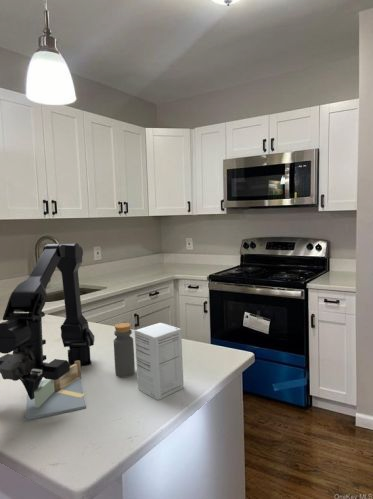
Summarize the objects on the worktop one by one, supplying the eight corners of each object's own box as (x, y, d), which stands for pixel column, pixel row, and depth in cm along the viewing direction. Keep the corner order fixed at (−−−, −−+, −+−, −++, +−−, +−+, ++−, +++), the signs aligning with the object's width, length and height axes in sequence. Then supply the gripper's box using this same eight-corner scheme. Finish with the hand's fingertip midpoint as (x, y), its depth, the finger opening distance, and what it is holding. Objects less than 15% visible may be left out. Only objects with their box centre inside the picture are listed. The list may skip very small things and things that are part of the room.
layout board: (80, 375, 109) (80, 373, 109) (87, 407, 90) (87, 405, 90) (29, 385, 104) (29, 382, 104) (24, 421, 85) (24, 418, 85)
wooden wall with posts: (82, 377, 108) (81, 360, 107) (55, 394, 98) (54, 376, 97) (77, 376, 108) (75, 359, 108) (49, 393, 98) (48, 375, 98)
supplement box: (163, 377, 106) (161, 321, 104) (184, 388, 99) (182, 328, 97) (136, 389, 99) (133, 329, 98) (157, 401, 92) (154, 337, 91)
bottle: (117, 379, 106) (115, 329, 104) (113, 371, 111) (110, 324, 110) (137, 375, 108) (134, 326, 107) (132, 367, 113) (129, 321, 112)
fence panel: (50, 391, 97) (49, 377, 97) (54, 391, 97) (53, 377, 97) (35, 407, 89) (33, 391, 89) (39, 407, 89) (38, 392, 89)
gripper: (-28, 346, 84) (-25, 410, 86) (41, 353, 80) (44, 421, 81) (7, 331, 95) (9, 389, 96) (70, 337, 90) (71, 397, 92)
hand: (32, 398), depth 91 cm, fingers closed
